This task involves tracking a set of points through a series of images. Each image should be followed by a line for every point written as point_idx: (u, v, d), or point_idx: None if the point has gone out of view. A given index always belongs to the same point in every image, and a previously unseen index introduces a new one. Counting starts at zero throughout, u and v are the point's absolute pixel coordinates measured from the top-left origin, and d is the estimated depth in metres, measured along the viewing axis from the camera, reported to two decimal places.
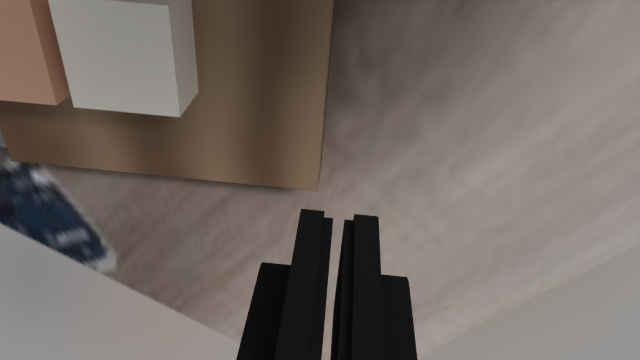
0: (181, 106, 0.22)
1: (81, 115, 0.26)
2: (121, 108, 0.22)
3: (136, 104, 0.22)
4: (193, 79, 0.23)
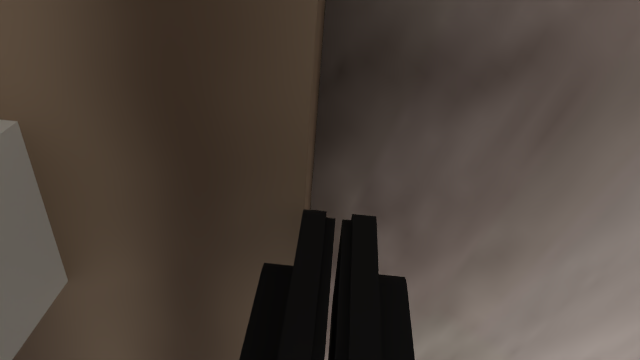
0: (2, 355, 0.11)
1: None
2: None
3: None
4: (47, 273, 0.12)
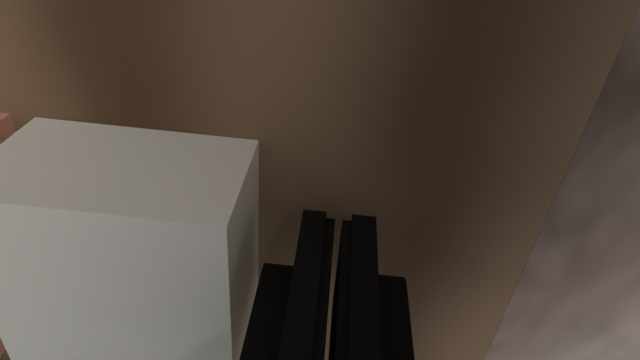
0: None
1: None
2: None
3: None
4: (253, 291, 0.12)
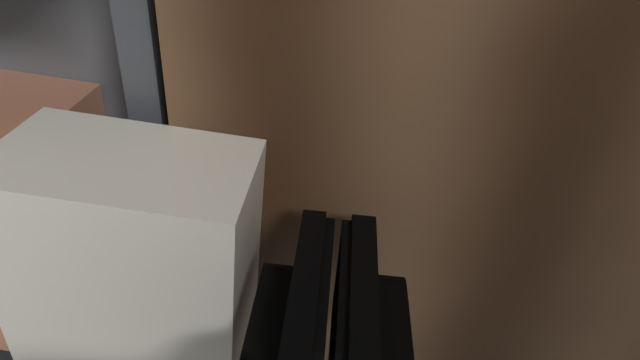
0: None
1: None
2: None
3: None
4: (252, 289, 0.12)
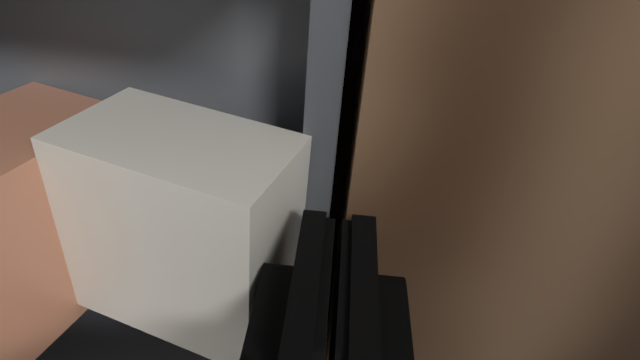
0: None
1: None
2: (150, 331, 0.12)
3: (175, 333, 0.11)
4: None
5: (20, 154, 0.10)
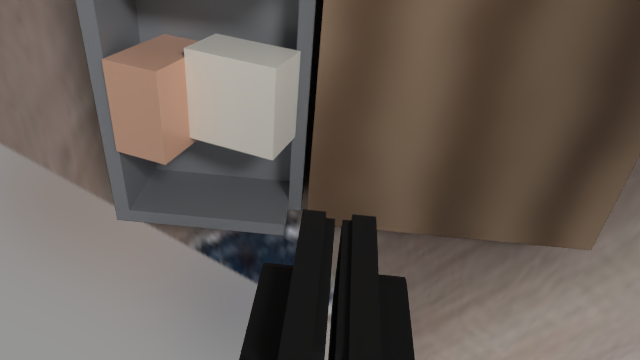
0: (275, 151, 0.25)
1: (392, 184, 0.28)
2: (226, 145, 0.25)
3: (239, 143, 0.25)
4: (291, 127, 0.26)
5: (176, 57, 0.24)
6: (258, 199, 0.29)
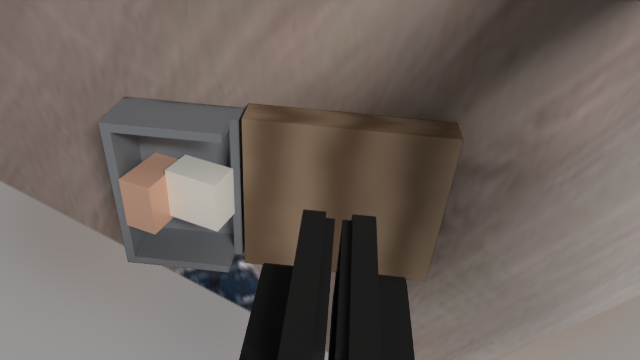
0: (218, 226, 0.42)
1: (295, 241, 0.46)
2: (191, 221, 0.43)
3: (198, 221, 0.43)
4: (230, 209, 0.44)
5: (160, 174, 0.41)
6: (215, 248, 0.47)
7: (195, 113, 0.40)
